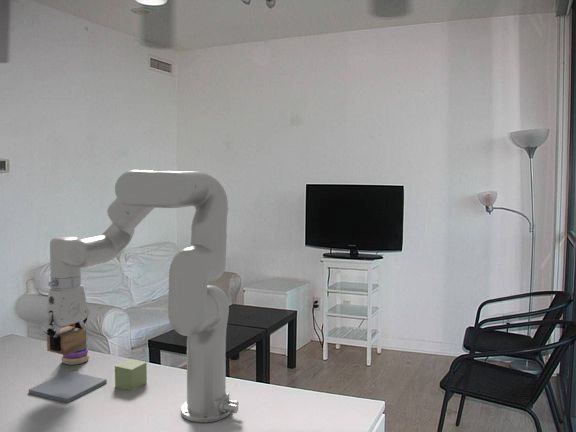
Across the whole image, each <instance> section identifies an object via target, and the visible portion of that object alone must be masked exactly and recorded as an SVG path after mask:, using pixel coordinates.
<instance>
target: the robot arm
mask: <svg viewBox="0 0 576 432" xmlns="http://www.w3.org/2000/svg"><path fill="white" fill-rule="evenodd" d="M114 193H115V197H116V198H115V199H114V200H113V201H112V202H111V203H110V204H109V206H108V207H107V210H106V212H107V216H108V218H109V220H110V222H112V223H111V224H110V225H109V226H108V227H107V228H106V229H105V231H104V232H102V233H101V234H100V235H97V236H89V237H85V238H78V237H76V236H57V237H53V238H52V239H51V240H50V242H49V260H50V261H49V265H50V266H49V267H50V268H49V269H50V272H49V273H50V281H49V282H48V286H49V287H50V289H48V295H47V302H46V317H45V318H44V319H43V321H42V322H41V323H40V325H39V327H40V328H41V330H42V331H43V332H44V333H45V334H46V336H47V335H48V336H50V350H52V351H57V352H59V351H60V337H59V336H58V335H59V333H60V330H61V328H64V327H66V326H69V325H72V324H74V326H75V328H80V329H83V328H84V327H85V328H86V322H87V321H88V317H90V314H91V310H90V309H88V308H87V300H86V299H87V298H86V292H85V289H84V285H83V284H81V283H82V282H81V281H82V279H81V277H82V273H81V269H83V268H84V269H85V268H89V267H93V266H96V265H101V264H104V263H108V262H110V261H111V260H113V259H115V258H116V257H117V256H119V254H120V253H122V251H123V250H124V249H125V248H127V246H128V245H129V244H130V243H131V241H132V238H133V237H134V234H135V229H136V228H137V227H138V226H139V225H140V224H141V222H142V221H144V219H145V218H146V217H147V216H148V215H149V214H150V213H151V212H152V211H153V210H154V209H155V208H159V209H179V208H188V207H189V208H190V207H194V208H195V210H194V211H195V212H194V215H193V217H192V222H191V229H190V230H191V233H190V244H189V247H185V248H183V249H181V250H179V251H178V252H176V253H175V254H176V255H174V256H173V258H172V261H171V263H170V266H169V267H170V268H169V272H168V300H167V301H168V302H167V305H168V306H167V309H168V310H167V313H168V315H167V316H168V320H169V323H170V325H171V327H172V329H174V331H175V333H177V334H179V335H181V336H184V337H185V336H186V337H187V339H186V401H185V402H184V403H183V404H182V405H181V407H180V415H181V416H182V417H183V418H184V419H185V420H187V421H190V422H193V423H213V422H216V421H220V420H223V419H224V418H227V417H228V416H229V415H230V414H237V413H238V411H239V401H238V400H232V399H231V398H230V392H227V391H226V386H227V385H226V383H227V382H226V380H227V379H226V377H227V375H226V373H227V372H226V371H227V370H226V367H227V366H226V362H227V361H226V360H227V358H226V349H227V346H226V345H227V328H228V321H229V314H230V313H229V311H230V304H229V303H230V302H229V299H228V296H227V294H226V292H225V291H224V290H223V289H221V288H220V287H219V286H216V285H212V284H210V285H208V284H209V283H212V282H215V281H216V280H218V279H219V278H221V276H223V274H224V272H225V270H226V262H227V260H226V259H227V238H228V237H227V236H228V234H227V226H228V225H227V224H228V210H229V207H228V206H229V204H228V203H229V200H228V197H227V193H226V190H225V189H224V187H223V185H222V184H221V183H220V181H218V179H216V178H215V177H213V176H212V175H210V174H209V173H206V172H202V171H196V170H195V171H194V170H190V171H189V170H188V171H187V170H186V171H182V170H181V171H179V170H176V171H174V170H172V171H171V170H167V171H165V170H162V171H157V170H155V171H154V170H148V169H147V170H146V169H144V170H143V169H142V170H139V169H132V170H128V171H124V173H122V174H121V175H120V176H118V179H117V180H116V182H115V185H114ZM54 330H55V331H54Z"/></svg>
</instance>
